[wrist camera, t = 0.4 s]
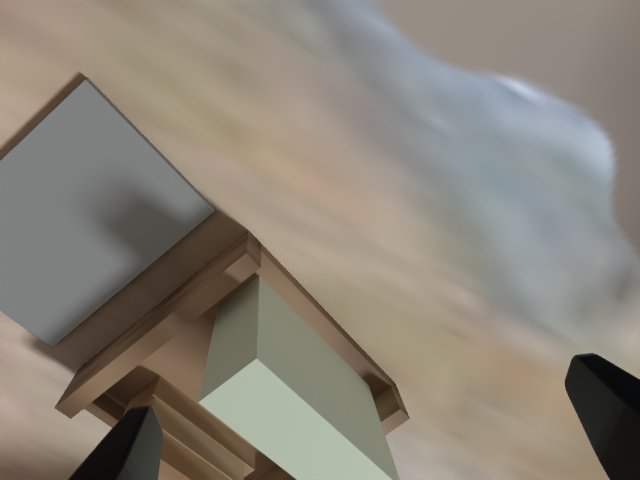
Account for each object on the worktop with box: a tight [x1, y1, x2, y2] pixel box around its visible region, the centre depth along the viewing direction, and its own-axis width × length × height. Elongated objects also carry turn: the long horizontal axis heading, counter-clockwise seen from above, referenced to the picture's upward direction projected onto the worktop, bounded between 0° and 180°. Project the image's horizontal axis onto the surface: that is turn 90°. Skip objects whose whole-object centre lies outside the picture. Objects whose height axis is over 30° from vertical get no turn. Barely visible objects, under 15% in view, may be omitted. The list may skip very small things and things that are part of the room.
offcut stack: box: [124, 376, 255, 480], centre depth 24 cm, size 2×8×4 cm, turn 38°
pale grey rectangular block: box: [198, 276, 399, 480], centre depth 21 cm, size 3×10×7 cm, turn 39°
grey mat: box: [0, 79, 215, 347], centre depth 21 cm, size 12×8×1 cm, turn 129°
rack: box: [55, 231, 410, 480], centre depth 25 cm, size 13×14×3 cm
